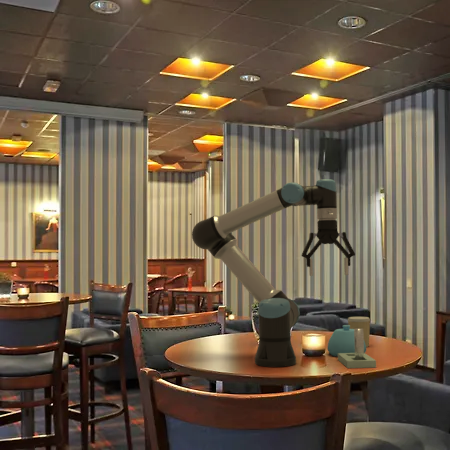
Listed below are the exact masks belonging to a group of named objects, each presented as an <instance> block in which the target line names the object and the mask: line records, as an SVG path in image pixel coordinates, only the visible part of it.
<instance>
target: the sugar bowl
mask: <svg viewBox="0 0 450 450" xmlns="http://www.w3.org/2000/svg"><path fill="white" fill-rule="evenodd" d="M349 328H350V325H348V324H344V325H342V328H337V329H335V330H334V331H333V332H332V335H331V336H330V337H329V339H328V343H327V351H328V353H329V354H330V355H331V356H333V357H337V358H338V353H355V341H354V329H349ZM366 352H367V347H366V344H365V341H364V353H365V354H366Z"/></svg>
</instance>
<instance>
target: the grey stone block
mask: <svg viewBox="0 0 450 450" xmlns="http://www.w3.org/2000/svg"><path fill="white" fill-rule="evenodd" d="M354 341H355V360H364V336H363V329H354Z"/></svg>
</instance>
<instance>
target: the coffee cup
mask: <svg viewBox="0 0 450 450" xmlns="http://www.w3.org/2000/svg"><path fill="white" fill-rule="evenodd" d="M370 324H371V319H370V317H368V316H349V317H347V325H350V328H349V329H363V336H364V341H365V344H366V348H369V347H368V346H370V331H371V328H370V326H371V325H370Z"/></svg>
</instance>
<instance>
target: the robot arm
mask: <svg viewBox="0 0 450 450" xmlns="http://www.w3.org/2000/svg"><path fill="white" fill-rule="evenodd" d="M337 198H338V197H337V183H336V181H335V180H334V179H330V178H329V179H328V178H327V179H326V178H325V179H318V180H316V182H315V185H301V183H297V182H294V181H293V182H292V181H291V182H287V183H286V184H284V185H283V186H282V187H281V188H279V189H276V190H274V191H272V192H270V193H268V194H265V195H263V196H261V197H258V198H257V199H255V200H253V201H250V202H248V203H245V204H244V205H241V206H239V207H237V208H235V209H231V211H228V212H226V213H223V214H222V215H216V214H215V215H213V216H210V217H208V218H205V219H203V220H200V221H199V222H197V223H196V224H195V225H194V226H193V229H192V232H191V238H192V241H193V243H194V244H195V246H197V247H198V248H200V249H201V250H202V249H203V250H208V251H209V253H210V254H211V255H212V256H213V258H215V259H218V260H221V261H222V263H224V264H225V266H226V267H227V268H228V269H229V270H230V272H231V273H232V274H233V276H235V278H237V280H238V281H239V282H240V283H241V284H242V285H243V287H245V290H247V291H248V292H249V293H250V295H251V296H252V298H254V300H256V301H257V303H258V309H257V313H258V341H259V342H258V346H257V349H256V352H255V355H254V364H255V365H257V366H260V367H265V368H266V367H268V368H275V367H276V368H280V367H281V368H282V367H283V368H284V367H290V366H295V365H296V364H297V357H296V353H295V351H294V348H293V344H292V341H291V340H292V339H291V337H292V336H291V335H292V334H291V329H292V328H293V327H295V325H296V324H297V323H298V321H299V318H300V307H299V305H298V304H297V302H295V301H294V300H293V299H291V298H288V296H287V295H286V294H285V293H284V292H283V291H282V289H276V288H275V287H274V286H273V285H272V284H271V283H270V281H269V280H268V279H267V278H266V277H265V276H264V275H263V274H262V273H261V271H260V270H259V269H258V268H257V267H256V265H254V264H253V262H252V261H251V260H250V259H249V258H248V256H247V255H246V254H245V253H244V252H243V251H242V250H241V248H240V247H239V246H238V244H237V243H238V241H237V238H236V236H234V235H233V233H234V232H236V231H238V230H241V229H242V228H245V227H246V226H249V225H251V224H253V223H256V222H258V221H260V220H262V219H264V218H267V217H269V216H271V215H273V214H275V213H278V212H280V211H283V210H284V209H287V208H289V207H290V208H291V206H292V207H301V206H302V207H303V206H316V214H317V217H316V218H317V232H316V233H314V232H310V233H309V234H308V240H307V242H306V244H305V247H304V248H303V251H302V253H301V257H302V258H306V259H305V261H306V267H307V268H308V269H309V270H308V271H309V276H311V277H312V276H313V275H314V273H313V269H314V268H313V258H312V256H313V255H314V253H316V251H317V250H318V249H319V247H320V246H321V245H322V244H323V245H328V244H329V245H333V244H334V245H335V246H336V247H337V248H338V249H339V251H341V253H342V254H343V255H344V257H343V262H344V263H343V264H344V275H345V276H348V275H349V267H351V265H352V264H351V258H352V257H355V256H356V253H355V250H354V248H353V247H352V245H351V244H350V242H349V239H348V238H347V233H346V231H342V232H339V231H338V220H337V219H338V209H337V207H338V205H337V200H338V199H337ZM315 238H317V239H318V240H317V242H316V243H315V245H313V247H312V249H311V250H310V251H309V249H310V247H311V245H312V243H313V241H314V239H315ZM338 238H340V239H342V242H343V243H344V245H345V246H346V248H345V247H344V246H343V245H342V244H341V243H340V241H339V240H338ZM346 249H347V250H346ZM308 251H309V252H308Z"/></svg>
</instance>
